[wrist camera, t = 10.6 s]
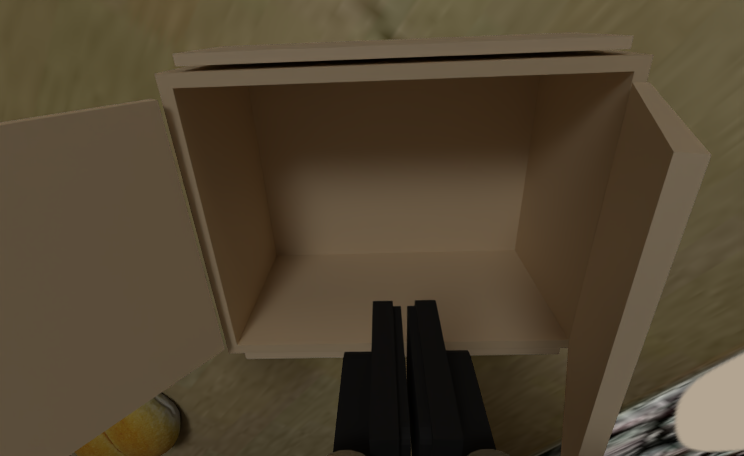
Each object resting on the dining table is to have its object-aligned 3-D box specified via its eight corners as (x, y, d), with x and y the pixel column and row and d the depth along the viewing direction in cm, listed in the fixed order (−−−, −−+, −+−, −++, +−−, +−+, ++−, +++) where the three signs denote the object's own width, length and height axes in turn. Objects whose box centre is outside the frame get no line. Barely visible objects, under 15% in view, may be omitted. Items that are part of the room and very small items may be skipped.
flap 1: (157, 100, 14) (-277, 169, 8) (224, 348, 19) (-5, 505, 13) (150, 99, 14) (-274, 165, 8) (218, 344, 19) (-9, 496, 13)
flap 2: (649, 82, 13) (710, 155, 6) (580, 343, 18) (574, 536, 12) (632, 82, 13) (674, 152, 7) (568, 340, 19) (555, 528, 12)
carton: (552, 30, 21) (659, 34, 13) (517, 261, 28) (574, 358, 20) (234, 43, 22) (149, 55, 14) (273, 266, 28) (231, 363, 20)
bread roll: (200, 430, 37) (181, 474, 33) (114, 445, 38) (87, 489, 34) (155, 366, 33) (128, 408, 30) (62, 385, 34) (25, 427, 31)
